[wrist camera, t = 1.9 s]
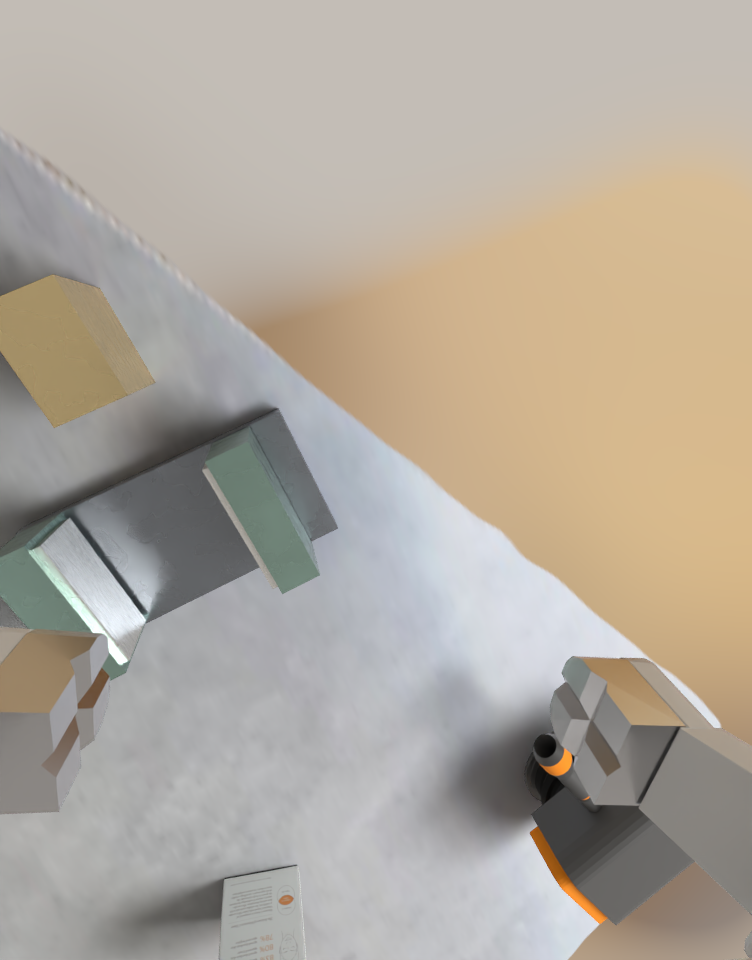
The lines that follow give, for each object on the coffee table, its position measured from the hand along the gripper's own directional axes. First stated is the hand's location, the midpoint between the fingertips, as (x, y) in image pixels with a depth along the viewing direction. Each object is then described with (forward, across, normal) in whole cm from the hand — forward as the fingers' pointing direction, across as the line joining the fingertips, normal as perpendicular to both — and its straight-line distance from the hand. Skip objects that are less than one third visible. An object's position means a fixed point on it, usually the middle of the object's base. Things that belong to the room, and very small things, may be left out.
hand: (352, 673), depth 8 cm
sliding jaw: (+29, -4, -9) cm, 30 cm away
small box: (+27, 0, -56) cm, 62 cm away
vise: (+30, -9, -13) cm, 34 cm away
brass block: (+30, -16, 0) cm, 34 cm away
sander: (+31, +32, -38) cm, 59 cm away
